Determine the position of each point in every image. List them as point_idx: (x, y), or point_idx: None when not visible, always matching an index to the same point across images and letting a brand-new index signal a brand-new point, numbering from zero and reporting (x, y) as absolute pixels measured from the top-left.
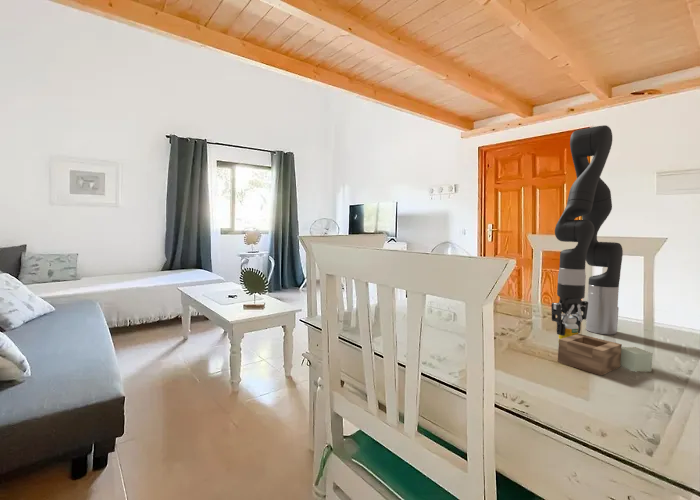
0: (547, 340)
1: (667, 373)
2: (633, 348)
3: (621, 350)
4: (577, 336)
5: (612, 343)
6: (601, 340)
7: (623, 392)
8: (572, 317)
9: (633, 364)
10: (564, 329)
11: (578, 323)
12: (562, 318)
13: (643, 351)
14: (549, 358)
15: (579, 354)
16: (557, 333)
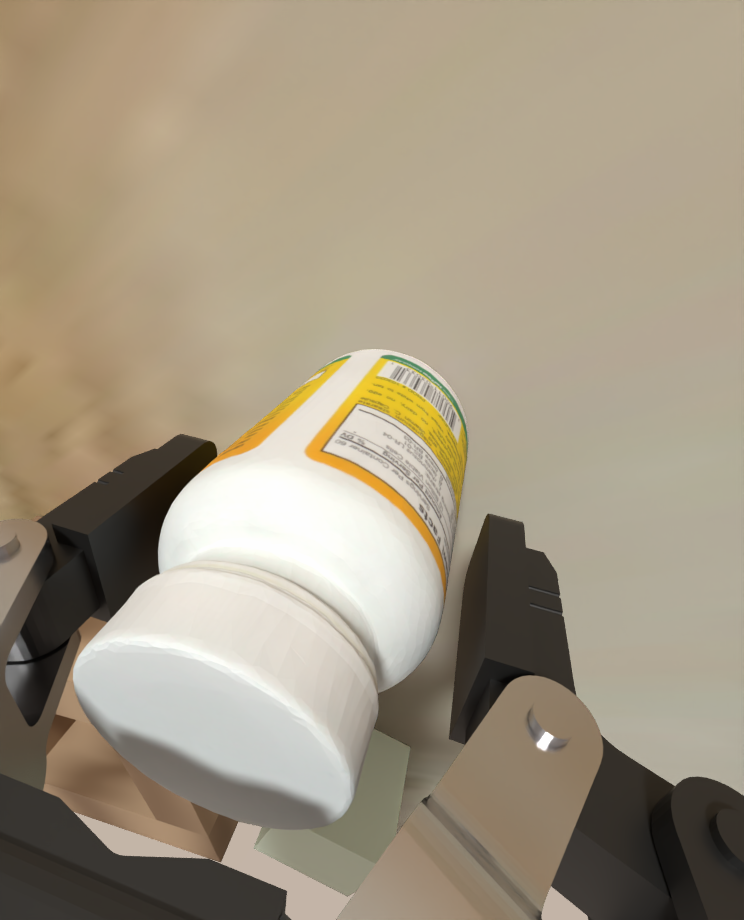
0: (391, 167)
1: (406, 814)
2: (342, 858)
3: None
4: (62, 699)
5: (178, 833)
6: (164, 801)
7: None
8: (264, 787)
9: None
10: (157, 561)
11: (454, 710)
12: (104, 626)
13: (337, 877)
14: (24, 466)
15: None
16: (181, 440)
